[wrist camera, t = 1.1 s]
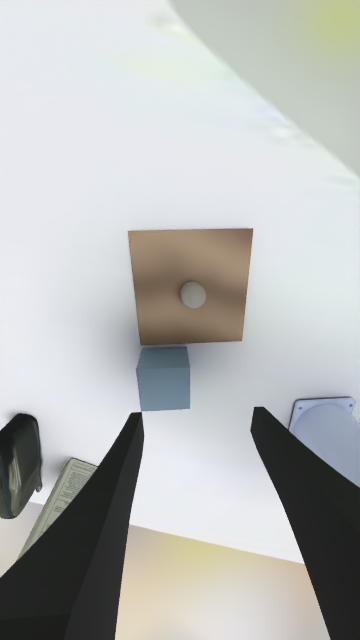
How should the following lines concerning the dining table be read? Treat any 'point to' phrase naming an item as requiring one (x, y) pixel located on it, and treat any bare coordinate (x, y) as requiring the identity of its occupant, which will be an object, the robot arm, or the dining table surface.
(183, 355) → the slate blue cube
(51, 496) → the skincare box
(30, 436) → the mobile phone
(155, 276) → the board
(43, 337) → the dining table surface
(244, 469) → the dining table surface
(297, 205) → the dining table surface
